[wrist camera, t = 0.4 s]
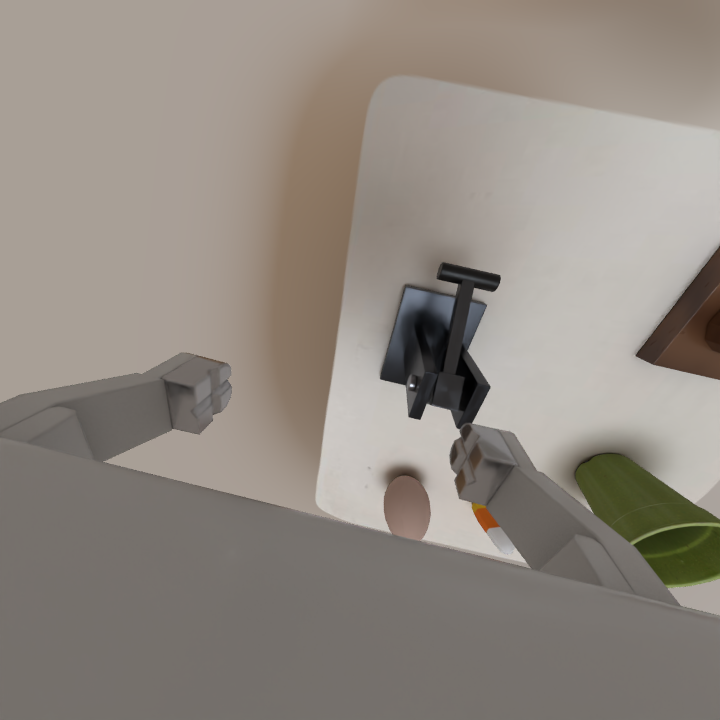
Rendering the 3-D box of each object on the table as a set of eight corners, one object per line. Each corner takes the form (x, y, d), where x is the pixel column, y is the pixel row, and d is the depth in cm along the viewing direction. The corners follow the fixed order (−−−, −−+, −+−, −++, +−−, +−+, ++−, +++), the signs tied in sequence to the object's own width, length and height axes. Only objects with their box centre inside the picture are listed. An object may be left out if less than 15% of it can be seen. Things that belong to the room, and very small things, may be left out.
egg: (385, 493, 44) (384, 556, 35) (382, 464, 41) (380, 525, 32) (426, 494, 43) (435, 559, 34) (426, 464, 40) (435, 528, 31)
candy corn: (470, 506, 43) (485, 560, 36) (469, 494, 42) (484, 547, 35) (508, 504, 42) (532, 560, 35) (508, 492, 41) (533, 547, 34)
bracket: (405, 284, 29) (413, 316, 17) (484, 302, 29) (544, 347, 17) (380, 375, 34) (374, 445, 23) (446, 390, 34) (473, 469, 23)
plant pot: (570, 506, 41) (629, 596, 30) (545, 457, 37) (603, 540, 27) (660, 484, 37) (762, 578, 27) (643, 426, 33) (753, 510, 23)
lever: (437, 268, 23) (445, 256, 21) (490, 280, 23) (505, 269, 21) (408, 398, 23) (414, 401, 20) (463, 411, 23) (475, 415, 20)
